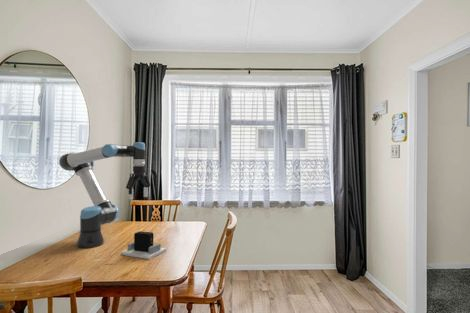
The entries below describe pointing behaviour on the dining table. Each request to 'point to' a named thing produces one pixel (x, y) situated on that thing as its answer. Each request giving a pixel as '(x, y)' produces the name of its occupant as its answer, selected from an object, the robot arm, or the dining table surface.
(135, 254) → the mounting board
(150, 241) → the electronic device
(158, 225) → the dining table surface
